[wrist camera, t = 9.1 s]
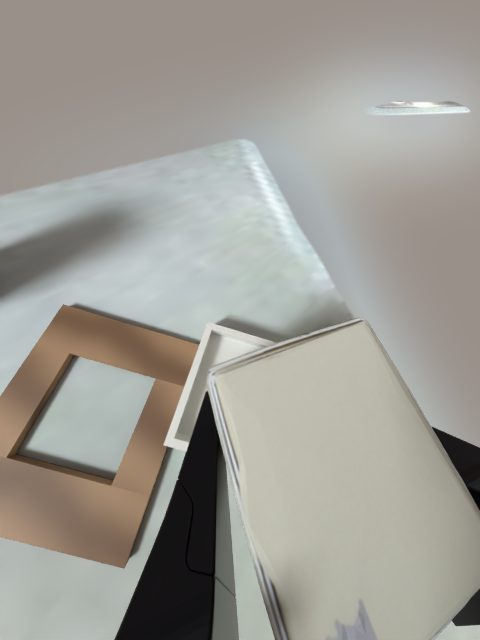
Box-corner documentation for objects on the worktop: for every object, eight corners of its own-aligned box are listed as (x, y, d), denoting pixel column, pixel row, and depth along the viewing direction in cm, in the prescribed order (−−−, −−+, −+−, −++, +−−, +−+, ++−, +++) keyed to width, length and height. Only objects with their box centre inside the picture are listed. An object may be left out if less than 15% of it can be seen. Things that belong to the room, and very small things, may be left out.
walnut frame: (128, 559, 12) (124, 568, 12) (-67, 509, 12) (-82, 516, 11) (203, 346, 17) (202, 345, 17) (68, 306, 17) (63, 304, 16)
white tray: (282, 466, 15) (291, 480, 13) (170, 435, 15) (163, 445, 13) (299, 354, 18) (309, 352, 16) (208, 327, 18) (207, 321, 16)
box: (275, 416, 15) (538, 588, 3) (227, 438, 14) (329, 857, 2) (254, 358, 16) (374, 308, 4) (209, 374, 15) (197, 369, 3)
